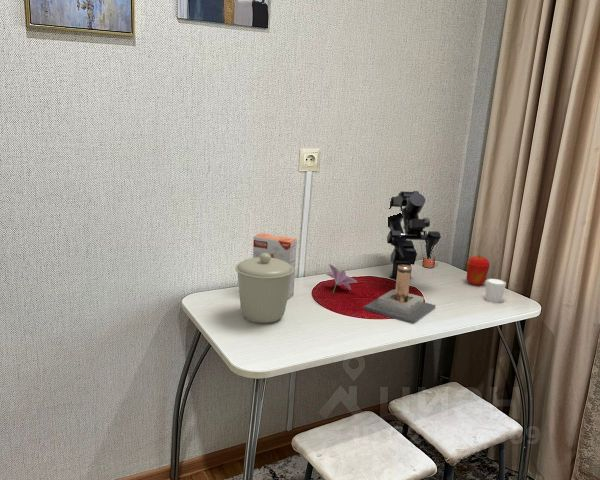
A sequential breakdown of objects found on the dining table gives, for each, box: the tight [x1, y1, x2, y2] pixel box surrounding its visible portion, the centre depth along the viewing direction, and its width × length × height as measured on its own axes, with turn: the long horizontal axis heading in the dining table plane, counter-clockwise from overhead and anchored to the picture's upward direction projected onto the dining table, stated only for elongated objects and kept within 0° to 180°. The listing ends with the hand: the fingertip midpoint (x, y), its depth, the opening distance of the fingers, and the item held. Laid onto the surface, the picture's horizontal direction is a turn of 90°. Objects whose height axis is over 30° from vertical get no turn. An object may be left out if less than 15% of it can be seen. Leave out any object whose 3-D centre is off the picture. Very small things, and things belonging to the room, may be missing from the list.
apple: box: [466, 254, 490, 286], centre depth 224 cm, size 9×8×12 cm
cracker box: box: [252, 232, 298, 301], centre depth 199 cm, size 14×6×21 cm, turn 68°
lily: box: [325, 263, 358, 294], centre depth 208 cm, size 12×12×10 cm
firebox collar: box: [363, 288, 436, 325], centre depth 195 cm, size 18×18×4 cm
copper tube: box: [395, 265, 412, 303], centre depth 193 cm, size 4×4×14 cm
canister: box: [234, 253, 294, 324], centre depth 179 cm, size 18×18×21 cm
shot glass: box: [484, 278, 507, 303], centre depth 208 cm, size 7×7×7 cm
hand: (416, 257), depth 207 cm, fingers open, 9 cm apart
